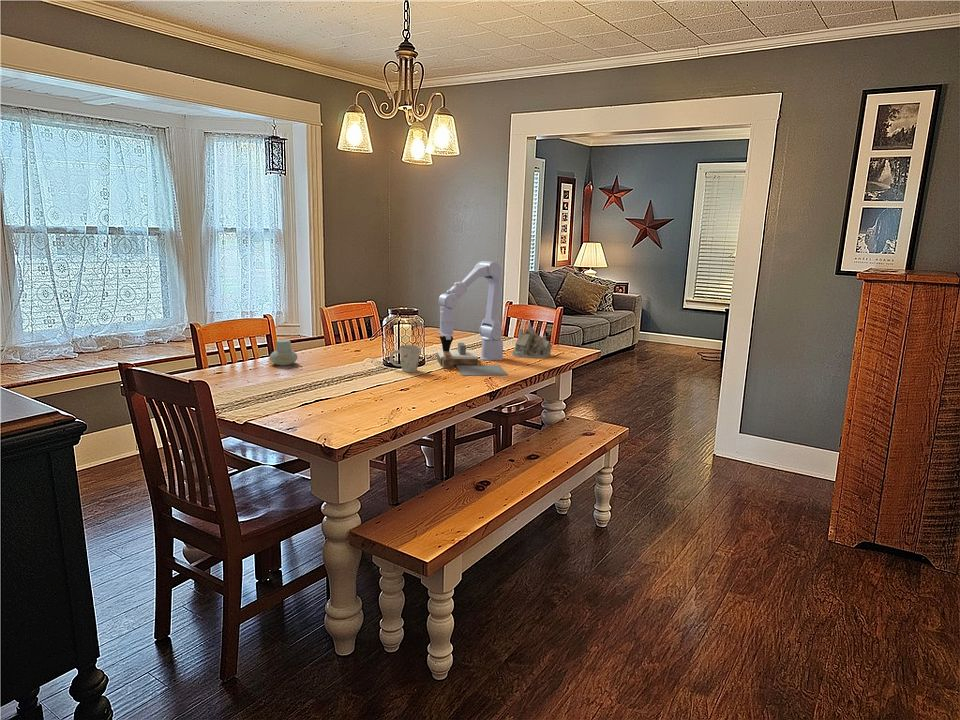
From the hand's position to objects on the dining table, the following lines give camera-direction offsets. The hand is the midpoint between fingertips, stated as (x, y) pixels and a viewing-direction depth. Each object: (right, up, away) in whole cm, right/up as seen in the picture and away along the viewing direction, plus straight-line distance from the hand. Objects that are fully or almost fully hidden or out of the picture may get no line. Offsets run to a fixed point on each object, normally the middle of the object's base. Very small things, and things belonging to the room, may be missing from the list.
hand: (445, 353), depth 274 cm
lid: (+5, -1, +5) cm, 7 cm away
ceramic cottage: (+39, -1, +26) cm, 47 cm away
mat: (+15, -7, -8) cm, 19 cm away
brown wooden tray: (+5, -4, +3) cm, 7 cm away
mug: (-16, -8, -13) cm, 22 cm away
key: (+1, -2, -5) cm, 5 cm away
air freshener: (-67, -5, -10) cm, 68 cm away
